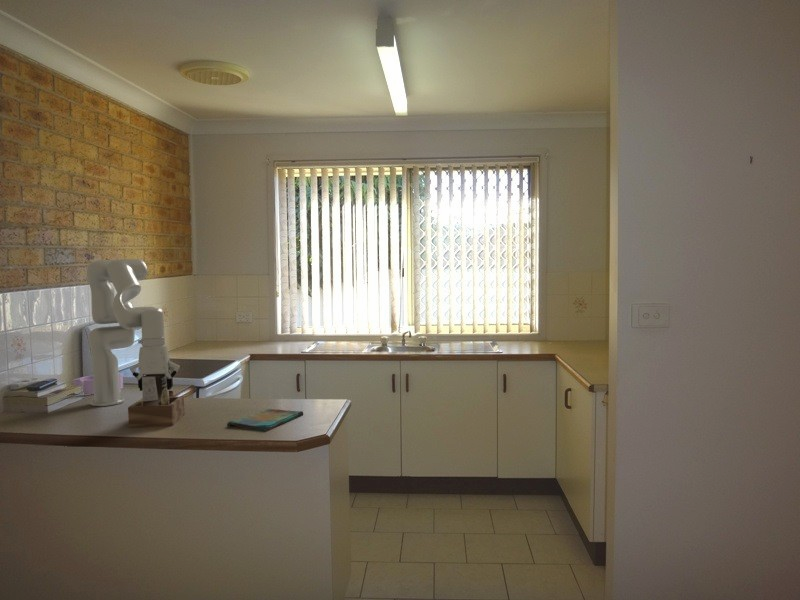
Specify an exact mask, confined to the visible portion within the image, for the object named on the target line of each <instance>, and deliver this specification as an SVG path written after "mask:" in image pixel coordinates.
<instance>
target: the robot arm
mask: <svg viewBox="0 0 800 600" xmlns="http://www.w3.org/2000/svg"><path fill="white" fill-rule="evenodd" d="M85 271H86V279H87V282H88V284H89V287H90V295H91V298H90V299H91V302H90V303H91V317H92V321H93V322H94V323H95V324H98V325H109V324H110V325H111V324H118V325H111V326H101V327H96V328H94V329H92V330H90V331H89V333H88V336H87V339H88V344H89V345H88V346H89V348H90V353H91V361H92V362H91V363H92V376H93V381H94V395H93V396H94V397H93V398H94V400H91V401H90V406H92V407H106V406H107V407H108V406H115V405H119V404H122V403H124V402H125V398H124V397H122V396H121V394H122V389H119V374H120V373H119V359H118V358H117V356H116V355H115V354H114V353H113V352H112V350H117V349H126V348H130V347H132V346H133V344H134V343H135V337H136V336H135V329H141V338H140V339H138V340H137V343H138V345H139V344H140V345H141V346H140V347H139V352H138V363H137V364H134V365H132V366H130V368H129V371H130V372H131V374H132V376H133V377H134V378H135V379H136V380H137V383H138V384H137V387H138V388H139V391H142V377H143V376H145V375H159V374H165V375H166V376H167V377H168V379H167V390H169V391H171V389H172V388H173V386H174V382H173V380H174V379H173V378H174V377H175V376H176V375H177V373H178V371H179V370H180V367H181V365H179V364H177V363H175V362H173V361H171V360H170V353H169V349H168V346H167V345H166V341H165V340H166V339H165V320H164V319H165V318H164V311H163V309H162V308H159V307H157V308H156V307H154V306H139V307H134V306H133V303H132V302H130V301H131V300H133V299H134V298H136V297H137V296H139V294H140V293H141V291H142V286H141V284H140V282H139V281H143V280H145V279H146V278H147V277H148V267H147V264H146V263H145V261H144V260H142V259H140V258H118V259H103V260H94V261H90V262H89V263H88V264H87V267H86V270H85ZM110 282H111V283H110ZM115 291H116V294H115ZM171 367H172V368H173V371H172V372H171ZM136 369H138V371H137V370H136ZM142 392H143V391H142Z"/></svg>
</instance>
